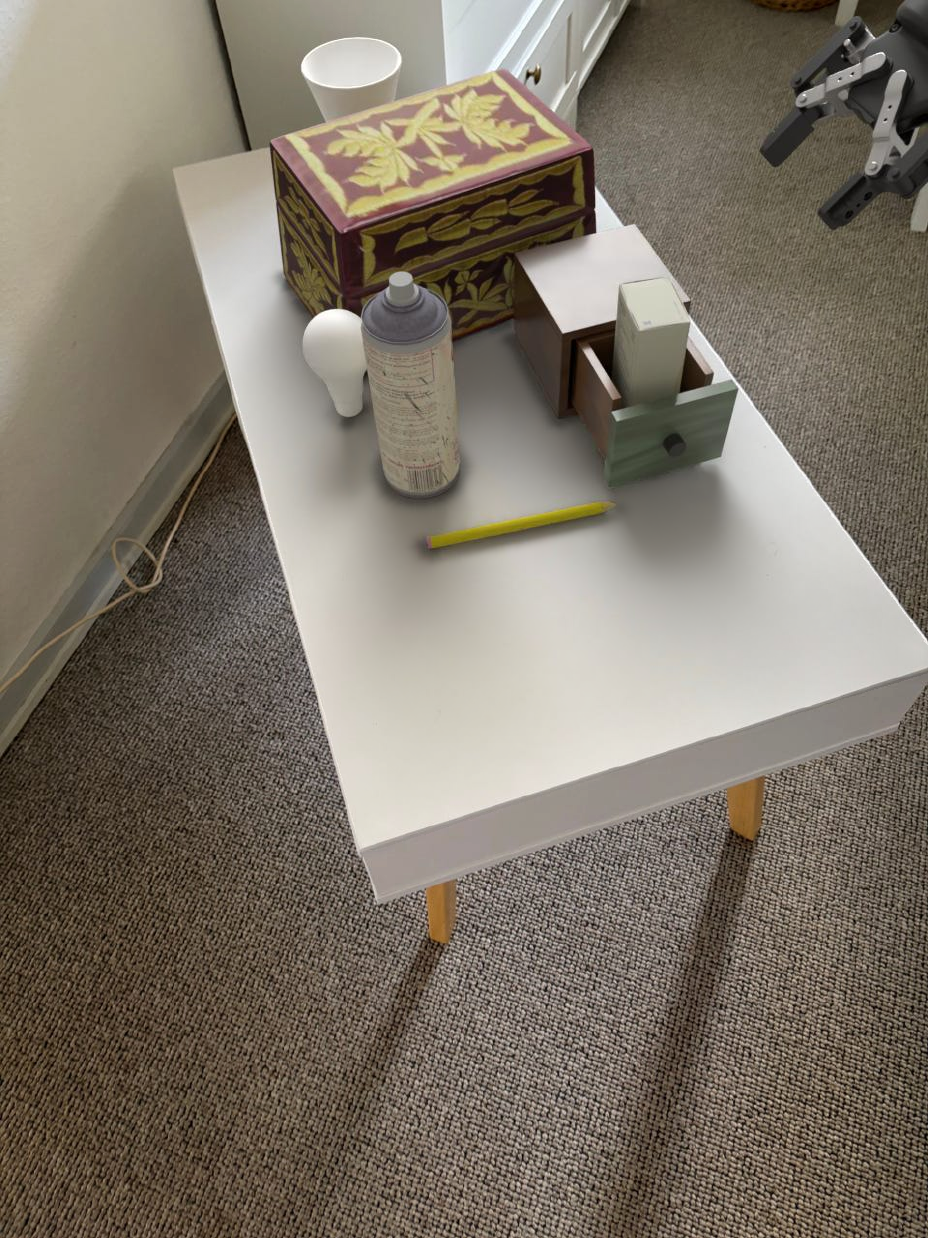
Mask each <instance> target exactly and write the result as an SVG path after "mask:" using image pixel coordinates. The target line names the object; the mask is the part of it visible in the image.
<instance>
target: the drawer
mask: <svg viewBox="0 0 928 1238" xmlns="http://www.w3.org/2000/svg"><path fill="white" fill-rule="evenodd" d="M615 330H616V328H615V329H611V330H607V331H603V332H599V333H595V334H592V335H588V336H584V337H580V338H576V340H575V355H574V370H573V384H572V401H571V402H572V404H573V406H574V408H575V409H576V411H577V413H578V414H577V415H578V416H579V418H580V420H581V422H582V423H583V425H584V427H585V429H586V431H587V432H588V434H589V435H590V437H591V439H592V441H593V443H594V444H595V447H596V448H597V450H598V451H599V453H600V455H601V457H602V458H603V460H604V469H603V477H602V479H603V481H604V483H605V485H606V487H607V489H609V490H610V489H612V488H617V487H620V486H623V485H628V484H630V483H635V482H639V481H641V480H644V479H648V478H651V477H656V476H658V475H659V476H660V475H663V474H666V473H669V472H673V471H677V470H680V469H683V468H686V467H690V466H695V465H697V464H701V463H704V462H709V461H712V460H715V459H718V458H721V457H722V455H723V452H724V448H725V445H726V444H725V443H726V440H727V436H728V433H729V428H730V424H731V419H732V416H733V412H734V408H735V405H736V400H737V397H738V392H739V387H738V386H737V385H736V383H735V382H734V380H733V379H727V380H724V381H721V382H716V383H713V381H714V375H715V372H714V370H713V369H712V367H711V366H710V365H709V362H708V361H706V359H705V357H704V356H703V355H702V353H701V352H700V350H699V349H698V348H697V347H696V345H695V343H694V341H692V340H691V338H690V336H689V335H688V340H687V346H686V353H685V359H684V365H683V372H682V378H681V384H680V391H679V394H676V395H672V396H668V397H665V398H661V399H657V400H654V401H650V402H646V403H642V404H639V405H635V406H631V407H628V408H624V409H620V407H621V399H622V397H621V396H620V394H619V392H618V391H617V389H616V388H615V386H614V384H613V383H612V381H611V380H612V367H613V354H614V342H615Z"/></svg>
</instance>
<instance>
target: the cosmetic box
mask: <svg viewBox="0 0 928 1238" xmlns="http://www.w3.org/2000/svg"><path fill="white" fill-rule="evenodd" d="M691 321H692V320H691V317H690V316H688V313H687V311H686V309H685V307H684V304H683V302H682V300H681V298H680V296H679V294H678V292H677V290H676V288H675V286H674V284H673V282H672V280H671V279H670V277H660V278H652V279H645V280H638V281H631V282H625V283H620V284H619V292H618V304H617V318H616V330H615V342H614V354H613V367H612V380H611V381H612V383H613V384H614V386H615V388H616V389H617V391H618V392H619V394H620V396H621V397H622V399H621V407H620V409H624V408H628V407H631V406H635V405H639V404H642V403H646V402H650V401H654V400H657V399H661V398H665V397H668V396H672V395H676V394H679V391H680V384H681V378H682V372H683V365H684V359H685V353H686V346H687V340H688V336H689V333H690V328H691Z"/></svg>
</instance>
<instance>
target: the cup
mask: <svg viewBox="0 0 928 1238" xmlns="http://www.w3.org/2000/svg"><path fill="white" fill-rule="evenodd" d="M402 59H403V58H402V54H401V53H400V52H399V50H398V49H397V47H395V46H394V45H392V44H390V42H386V41H385V40H381V39H376V38H371V37H344V38H339V39H336V40H330V41H328V42H326V43H323V44H321V45H318V46H316V47H315V48H314V49H311V50H310V51H309V52H308V53H307V54H306V55H305V56H304V58H303V60H302V62H301V64H300V71H301V75H302V76H303V77H304V80H305V81H306V84H307V86H308V88H309V89H310V92H311V94H312V96H313V99H314V101H315V102H316V104H317V107H318V109H319V111H320V113H321V115H322V117H323V119H324V121H325V122H329V121H332V120H335V119H338V118H342V117H345V116H348V115H351V114H355V113H358V112H361V111H364V110H367V109H371V108H374V107H377V106H380V105H384V104H387V103H390V102H393V101H395V99H396V93H397V88H398V83H399V78H400V73H401V69H402V65H403V60H402Z"/></svg>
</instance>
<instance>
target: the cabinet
mask: <svg viewBox="0 0 928 1238" xmlns="http://www.w3.org/2000/svg"><path fill="white" fill-rule="evenodd" d="M660 277H670V279H671V280H672V282H673V284H674V286H675V288H676V290H677V292H678V294H679V296H680V298H681V300H682V302H683V304H684V307H685V309H686V311H687V313H688V316H689V315H690V310H691V309H690V308H691V304H692V300H691V298H690V297H689V296H688V294H687V293H686V292H685V290H684V289H683V288H682V286H681V285H680V284H679V282H678V281H677V279H676V278H675V277H674V275H673V274H672V273H671V271H670V270H669V268H668V267H667V266H666V265H665V263H664V262H663V260H662V259H661V257H660V256H659V255H658V253H657V252H656V250H655V249H654V248H653V246H652V245H651V244H650V243H649V241H648V240H647V238H646V237H645V236H644V234H643V233H642V231H641V230H640V229H639V227H638V226H637V225H636V223H633V224H628V225H624V226H620V227H616V228H612V229H608V230H603V231H600V232H596V233H595V234H591V235H587V236H582V237H578V238H574V239H570V240H566V241H562V242H558V243H553V244H549V245H545V246H541V247H537V248H533V249H529V250H525V251H520V252H516V253H514V319H513V340H514V341H515V343H516V345H517V347H518V349H519V351H520V353H521V354H522V356H523V358H524V360H525V362H526V364H527V365H528V367H529V370H530V371H531V372H532V375H533V377H534V378H535V380H536V382H537V384H538V385H539V387H540V390H541V391H542V393H543V395H544V396H545V398H546V400H547V402H548V404H549V405H550V407H551V409H552V411H553V413H554V415H555V417H556V418H557V419H558V420H559V419H563V418H567V417H571V416H574V415H578V413H577V411H576V409H575V408H574V406H573V404H572V402H571V401H572V384H573V370H574V355H575V340H576V338H580V337H584V336H588V335H592V334H595V333H599V332H603V331H607V330H611V329H615V328H616V318H617V304H618V292H619V284H620V283H625V282H631V281H638V280H645V279H652V278H660ZM689 317H690V316H689Z"/></svg>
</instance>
